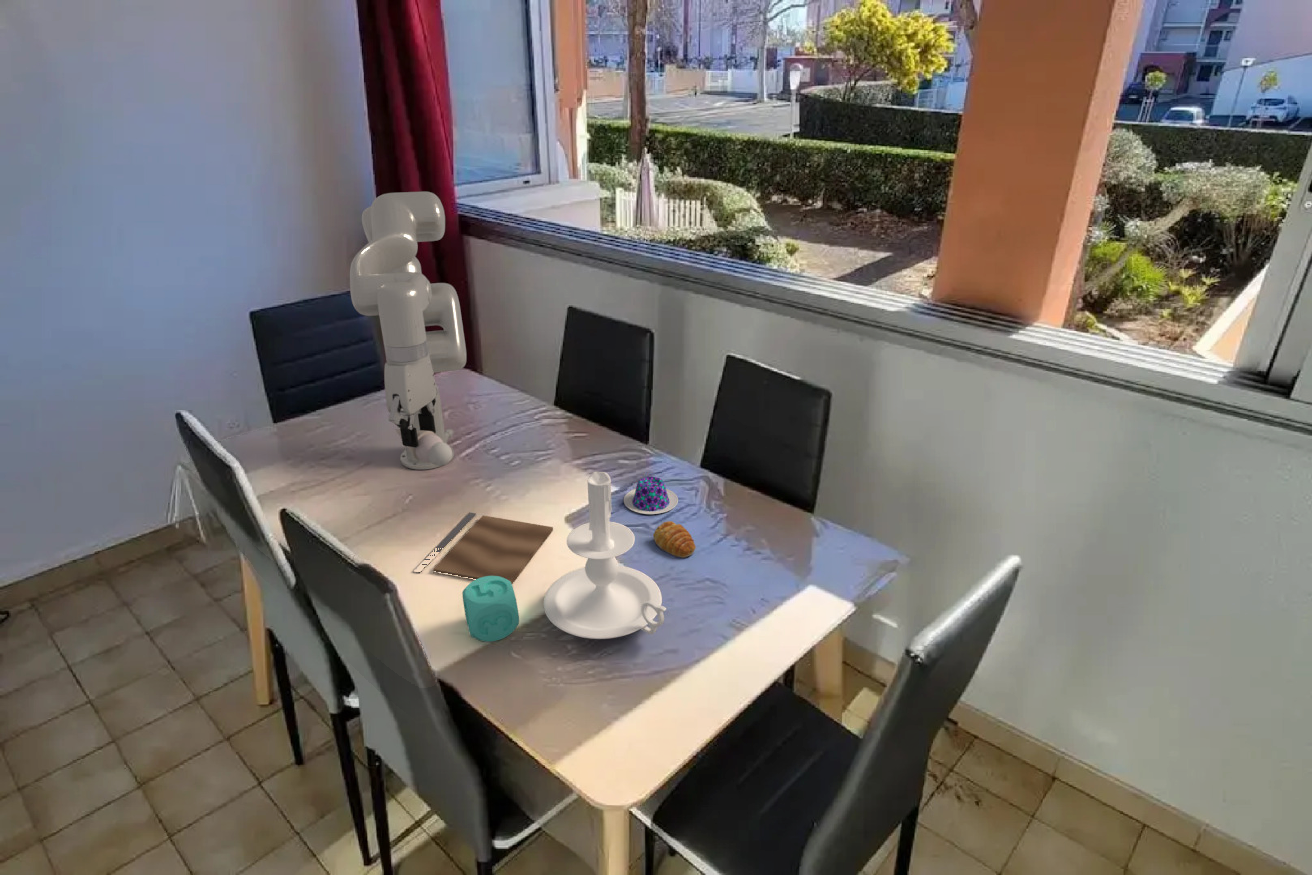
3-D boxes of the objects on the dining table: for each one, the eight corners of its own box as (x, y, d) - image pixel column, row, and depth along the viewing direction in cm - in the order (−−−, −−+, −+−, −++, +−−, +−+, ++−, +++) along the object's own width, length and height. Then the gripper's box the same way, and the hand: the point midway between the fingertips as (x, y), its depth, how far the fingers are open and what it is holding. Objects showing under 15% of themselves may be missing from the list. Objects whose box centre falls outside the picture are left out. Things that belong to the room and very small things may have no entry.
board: (483, 518, 167) (482, 515, 166) (552, 530, 163) (552, 527, 162) (433, 572, 150) (433, 568, 149) (510, 587, 145) (509, 583, 145)
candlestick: (621, 684, 123) (618, 533, 111) (520, 616, 138) (507, 476, 126) (703, 620, 137) (708, 480, 125) (603, 564, 152) (599, 434, 139)
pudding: (625, 518, 167) (625, 497, 165) (621, 490, 178) (621, 470, 176) (681, 515, 169) (681, 494, 166) (674, 487, 179) (674, 467, 177)
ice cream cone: (397, 446, 159) (450, 476, 152) (377, 438, 153) (431, 469, 147) (411, 419, 159) (465, 448, 153) (392, 410, 154) (446, 440, 147)
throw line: (469, 513, 169) (469, 512, 168) (476, 514, 168) (475, 513, 168) (413, 572, 150) (413, 570, 149) (420, 573, 149) (420, 572, 149)
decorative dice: (465, 618, 138) (460, 581, 134) (510, 607, 140) (506, 570, 137) (473, 647, 131) (468, 608, 127) (520, 635, 134) (517, 597, 130)
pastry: (704, 552, 156) (704, 536, 154) (676, 564, 152) (676, 547, 151) (676, 531, 163) (676, 515, 161) (649, 541, 159) (649, 525, 158)
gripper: (415, 334, 153) (427, 419, 161) (360, 364, 138) (376, 456, 146) (449, 338, 151) (459, 424, 159) (396, 368, 136) (411, 461, 144)
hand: (419, 438), depth 152 cm, fingers closed on ice cream cone, 5 cm apart
